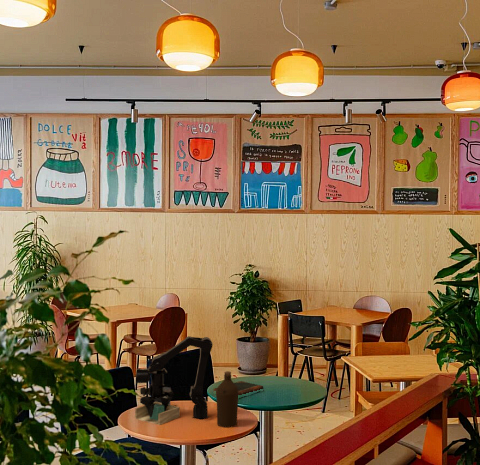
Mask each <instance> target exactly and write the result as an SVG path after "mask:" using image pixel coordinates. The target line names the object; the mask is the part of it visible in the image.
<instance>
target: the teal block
mask: <svg viewBox="0 0 480 465" xmlns="http://www.w3.org/2000/svg"><path fill="white" fill-rule="evenodd" d="M162 412H164V405H160V404H155V405H154V410H153V415H152V417H150V419H154V420H158V414H160V413H162Z"/></svg>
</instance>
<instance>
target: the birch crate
mask: <svg viewBox="0 0 480 465" xmlns="http://www.w3.org/2000/svg"><path fill="white" fill-rule="evenodd" d="M154 404H160V405H162V403H160V402H154ZM180 409H181V408H180V406H177V405H173V404H170V405H169V404H168V406H167V408H166V410H165V412H162V413H160V414H158V420H154V419H150V416H149V413H148V411H147V408H146V406H145V405H141V406H138V407H136V408H135V409H134V419H135V420H138V421H141V422H147V423H151V424H153V425H154V424H155V425H158V426H160V425H163V424H165V423H168V422H170V421H174V420H176V419H179V418H180V416H181V414H180Z"/></svg>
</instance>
